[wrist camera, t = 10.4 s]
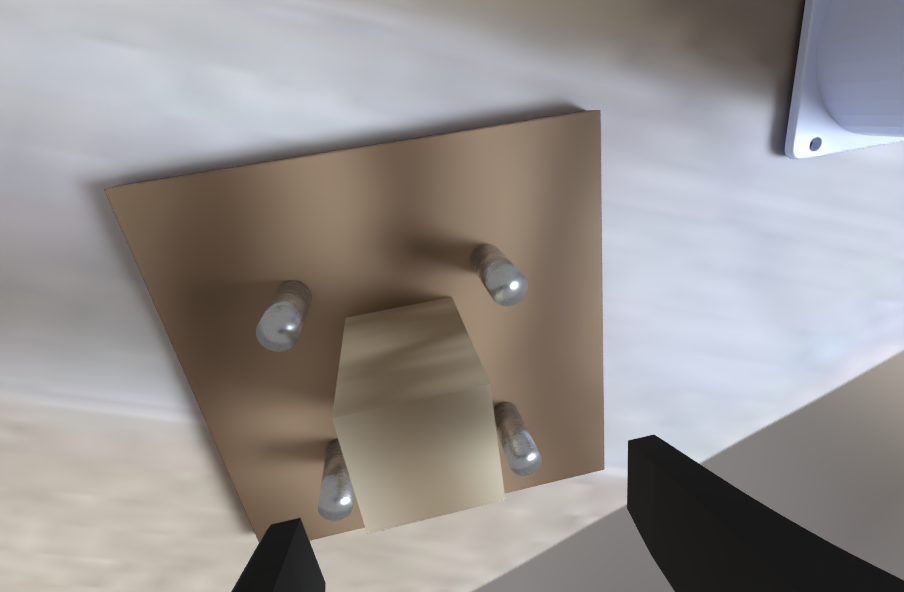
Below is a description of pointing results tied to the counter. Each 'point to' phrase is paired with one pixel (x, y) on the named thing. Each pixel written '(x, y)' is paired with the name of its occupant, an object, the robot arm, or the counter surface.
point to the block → (415, 416)
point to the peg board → (381, 295)
